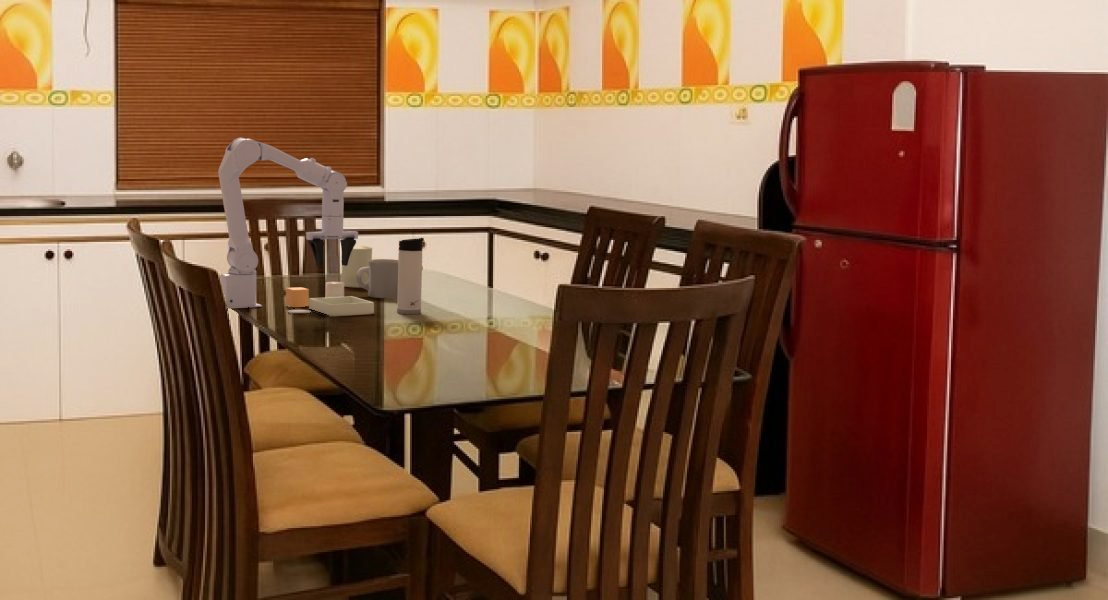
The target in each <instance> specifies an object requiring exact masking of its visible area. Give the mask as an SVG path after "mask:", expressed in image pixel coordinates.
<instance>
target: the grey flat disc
mask: <svg viewBox="0 0 1108 600" xmlns="http://www.w3.org/2000/svg"><path fill="white" fill-rule="evenodd" d="M288 312H289V313H310V312H311V313H312V311H311V310H309V309H291V310H290V309H289V310H287V313H288Z"/></svg>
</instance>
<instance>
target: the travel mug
mask: <svg viewBox="0 0 1108 600" xmlns="http://www.w3.org/2000/svg"><path fill="white" fill-rule="evenodd" d="M424 241H425V238H424V237H420V238H419V237H418V238H409V239H401V240H399V241H398V253H397V254H398V257H397V258H398V259H397V260H398V297H397V301H396V303H397V308H396V312H397V313H398V314H402V315H418V314H421V312H422V284H423V283H422V282H423V281H422V280H423V279H422V277H423V275H422V274H423V242H424Z"/></svg>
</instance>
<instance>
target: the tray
mask: <svg viewBox="0 0 1108 600" xmlns="http://www.w3.org/2000/svg"><path fill="white" fill-rule="evenodd" d="M309 309H312V310H315V311H318V312H321V313H324V314H327V315H329V316H328V317H341V316H343V317H346V316H358V315H359V316H361V315H362V316H363V315H372V314H373V315H374V314H375V302H373V301H370V300H366V299H363V298H359V297H357V296H353V295H349V296H347V295H346V296H345V295H344V297H326V298H325V297H309V308H308V310H309ZM315 311H314V312H315ZM318 312H317V313H318ZM321 313H320V314H321ZM324 314H323V315H324ZM327 315H326V316H327Z"/></svg>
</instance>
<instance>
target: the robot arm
mask: <svg viewBox="0 0 1108 600" xmlns="http://www.w3.org/2000/svg"><path fill="white" fill-rule="evenodd" d="M224 152H225V153H224V155H223V158H222V160H221V163H220V164H219V167H218V171H217V173H218V179H219V185H220V189H221V190H220V191H221V197H222V203H223V208H224V215H225V219H226V220H225V221H226V226H227V233H228V243H227V245H228V251H227V255H226V261H227V263H228V265H229V266H230V267H229V268H228V271H227V272H228V273H221V274H220V275H219V277H220V279H221V284H222V288H223V291H224V295H225V299H226V303H227V308H226V309H230V310H231V309H247V308H248V307H249V308H262V307H263V305H262V304H260V303H257V270H256V268H257V267H258V265H259V257H258V255H257V253H256V252H255V251H254V248H253V243H252V241H251V239H250V236H249V231H248V225H247V219H246V213H245V212H246V211H245V207H244V200H243V195H242V190H241V182H240V176H241V174H242V173H244V171H245V170H246V168H248V167H250V166H251V165H253V164H254V163H255V162H257V161H271V162H273V163H276V164H278V165H281V166H282V167H285V168H288V169H290V170H292V171H294V173H295V175H296V177H297V178H298V179H300V180H303V181H305V182H307V183H309V184H311V185H314V186H316V187H317V188H320V189H322V198H321V202H322V203H321V208H322V209H321V231H307V232H305V235H306V236H305V239H306V241H307V244H308V245H309V247H310V248H311V252H312V254H313V257H314V261H315V266H316V267H323V252H324V245H325V241H322V240H340V241H339V242H340V246H341V266H342V265H344V266H347V265H348V261H349V257H350V254H351V252H352V249H353V248H354V246H356V244H357V239H359V231H355V230H352V231H351V230H349V231H348V230H344V204H345V202H344V201H345V199H344V191H345V190H346V189H347V187H348V182H347V180H346V177H345V175H343V173H341V172H338V171H335V170H333V169H332V167H331V166H330V165H329V166H328V165H327V166H325V165H322V164H320V163H319V162H317V160H316V159H315V158H313V157H310V159H309V158H307V157H306V158H303V159H298V158H297V157H294V156H292V155H290V154H288V153H286V152H284V151H282V150H280V149H278V148H276V147H275V146H272V145H270V144H266V143H263V142H260V141H256V140H255V139H251V138H244V137H238V138H235V139H233V141H231V142H230V143H229V145H228V146H227V147H226V148H225V151H224Z"/></svg>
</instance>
